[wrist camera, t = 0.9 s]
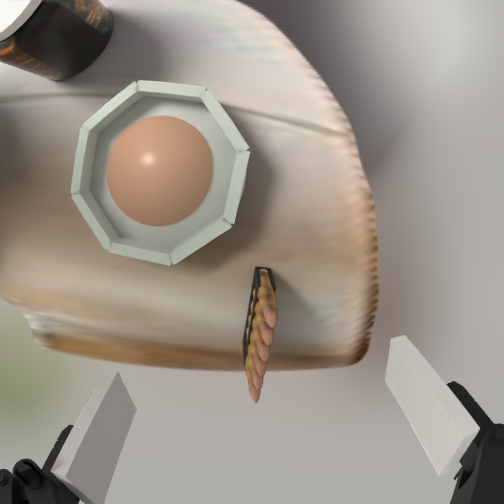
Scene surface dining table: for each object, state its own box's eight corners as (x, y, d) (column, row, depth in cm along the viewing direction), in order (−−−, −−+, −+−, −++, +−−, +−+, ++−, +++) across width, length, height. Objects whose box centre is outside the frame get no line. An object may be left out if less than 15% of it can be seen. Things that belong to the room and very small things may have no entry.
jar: (86, 87, 27) (10, 56, 12) (29, 76, 25) (-42, 56, 11) (128, 9, 24) (81, -51, 10) (67, 6, 22) (12, -36, 8)
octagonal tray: (80, 236, 32) (65, 244, 28) (106, 84, 27) (91, 76, 23) (226, 267, 34) (225, 279, 30) (263, 104, 29) (266, 95, 25)
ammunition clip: (256, 343, 37) (263, 409, 26) (242, 342, 37) (245, 407, 26) (271, 268, 34) (286, 318, 23) (255, 266, 34) (263, 316, 23)
